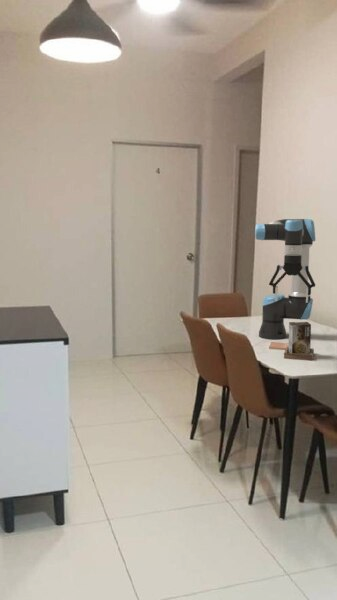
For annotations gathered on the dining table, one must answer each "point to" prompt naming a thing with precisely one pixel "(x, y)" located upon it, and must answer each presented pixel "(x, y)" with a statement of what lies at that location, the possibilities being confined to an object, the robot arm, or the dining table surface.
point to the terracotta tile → (278, 345)
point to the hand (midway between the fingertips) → (291, 301)
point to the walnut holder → (298, 355)
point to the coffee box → (299, 337)
